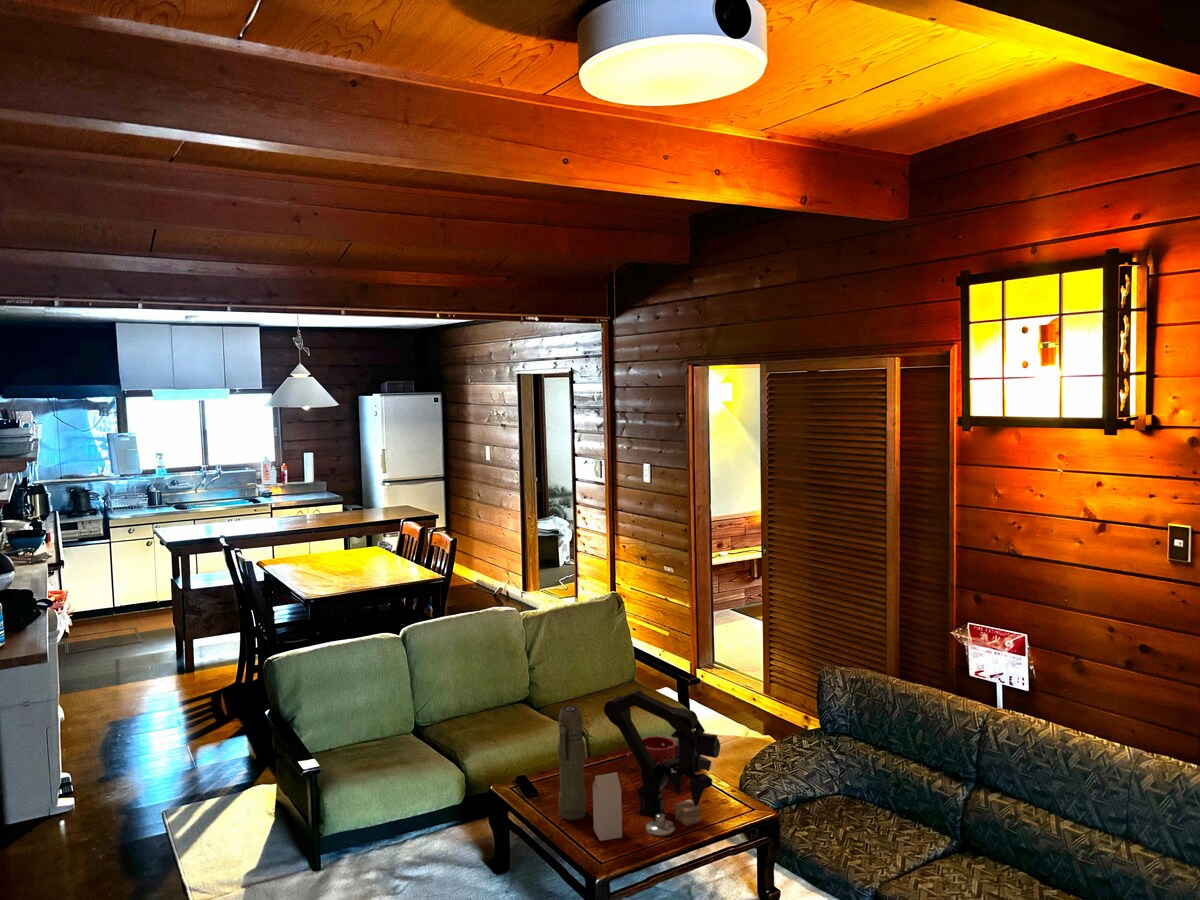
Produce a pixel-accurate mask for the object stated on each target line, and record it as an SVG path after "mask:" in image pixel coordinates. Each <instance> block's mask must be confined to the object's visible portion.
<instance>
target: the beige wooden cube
mask: <svg viewBox="0 0 1200 900" xmlns="http://www.w3.org/2000/svg"><path fill="white" fill-rule="evenodd" d="M674 808H675V809H674V811H675V820H677V821H678V822H680V823H681V824H683V825H684V826H686V827H688V826H690V825H693V824H697V823H699V822H701V805H700V804H698V805H697V806H695V805H694V802H693V800H691V799H690V798H689V799H686V800H682V801H679V802H676V803H675V807H674Z"/></svg>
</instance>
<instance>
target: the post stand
mask: <svg viewBox="0 0 1200 900" xmlns="http://www.w3.org/2000/svg"><path fill="white" fill-rule="evenodd" d="M665 817H666V815H665V814H664V813H662V812H661V813H658V814H656V817H655V819H652V820H651V821H650V820H649V821H648V822H647V823H645V830H646V833H647V834H649V835H650V836H655V837H667V836H670V835H673V834H674V833H675V831H676V826H675V823H673V822H672V821H670V820H667V819H665Z"/></svg>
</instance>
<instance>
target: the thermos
mask: <svg viewBox="0 0 1200 900" xmlns="http://www.w3.org/2000/svg"><path fill="white" fill-rule="evenodd" d="M558 715H559V716H558V733H559V736H558V742H557V763H558V765H559V766H558V767H559V769H558V770H559V793H558V796H557V797H558V809H559V812H558V815H560V816H559V817H560V818H561V819H563V820H565V819H566V821H578V820H581V819H583V818H585V816H586V814H587V813H586V807H587V793H586V790H585V781H584V780H585V777H584V776H585V775H584V774H585V771H584V770H585V769H584V766H585V765H584V764H585V762H586V757H585V756H586V753H585V752H586V750H585V741H584V739H583V737H584V736H583V734H582V733H583V715H582V713H581V709H580V708H579V706H578V707H577V706H576V705H566V706H563V707H562V708H560V712H559V714H558Z"/></svg>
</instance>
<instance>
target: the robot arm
mask: <svg viewBox="0 0 1200 900" xmlns="http://www.w3.org/2000/svg"><path fill="white" fill-rule="evenodd" d="M634 706H635V707H637V708H639V709H640V710H643V711H645V712H647V713H649V714H651V715H653V716H655V717H657V718H660V719H662V720H664V721H666V722H667V723H668V724H669V725H670V726H671V728H672V729H674V730H675V731H674V732H673V733H672V734H671V735H670V737H672V738H675V739H677V753H676V754H675V758H674V759H671V760H667V761H665V762H664V763H663V764H662V762H660V763H656V762H655V761H654V760H653V759H652V757H651V755H650V754H649V752H648V750H647V748H646V747H647V745H646V744H644V743H643V741H642V739H643V738H642V737H641V736H640V734H639V732H638V729H637V728H636V726H635V725H634V722H633V720H632V714H631V708H632V707H634ZM603 712H604V715H605V716H606V718H608V720H609V721H610V723H611V724H612V725H614V726H615V727H617V728H618V729H619V731H620V733H621V735H622V736H623V738H624V740H625V742H626V744H627V747H629V750H630V752H631V753H632V755H633V757H634V758H635V761H636V762H637V765H638V766H639V771H640V779H641V781H642V785H641V786H640V787H639V788H638V789H637V790H636V793H637V796H638V797H639V806H640V807H639V810H638V811H637V812H638V814H639V815H643V816H647V817H653V818H656V814H658V813H662V811H663V810H664V803H663V802H664V800H663V799H664V798H663V797H662V792H661V791H662V790H663V788H664V787H665V786H666V785H667V784H668V781H670V783H671V785H672V787H673V789H674V791H675V793H676V795H678V796H680V795H681V791H682V776H683V777H686V778H688V779H689V784H690V786H689V791H690V793H691V798H692V801H693V802H694V805H695V806H697V805H699V802H700V800H701V797H702V795H703V792H704V791H705V789H708V788H710V787H712V786H713V778H712V777H711V776H709V775H707V774H705V773H700V772H701V771H702V770H703V771H706V772H710V769H711V766H712V765H711V764H712V760H710V759H708V758H706V757H709V758H714V759H717V758H718V757H719V754H720V751H721V743H720V740H719V739H718V735H717V734H709V733H705V732H706V731H705V729H704V727H703V725H702V724H701V721H700V720H699V719H698V716H697V713H696V712H694V711H693V710H690V709H687V708H684V707H674V706H672V705H669V704H667V703H665V702H662V701H661V700H659V699H657V698H654V697H652V696H650V695H648V694H646V693H643V692H642V691H641V690H634V691H633V692H631V693H628V694H625V695H624V696H621V695H617V696H614V697H613V698H612V699H610V700H608V701H607V702H605V703H604V706H603ZM696 772H697V773H699V774H697V773H696ZM668 779H669V780H668Z"/></svg>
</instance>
